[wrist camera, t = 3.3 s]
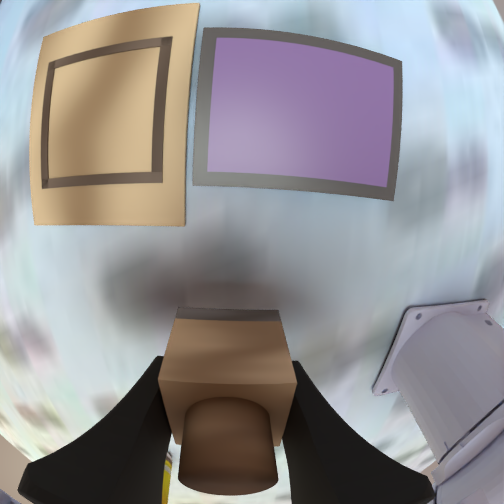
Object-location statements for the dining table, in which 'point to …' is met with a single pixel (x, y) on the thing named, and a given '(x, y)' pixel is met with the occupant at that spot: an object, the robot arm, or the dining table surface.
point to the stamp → (227, 397)
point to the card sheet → (113, 119)
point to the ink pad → (296, 114)
